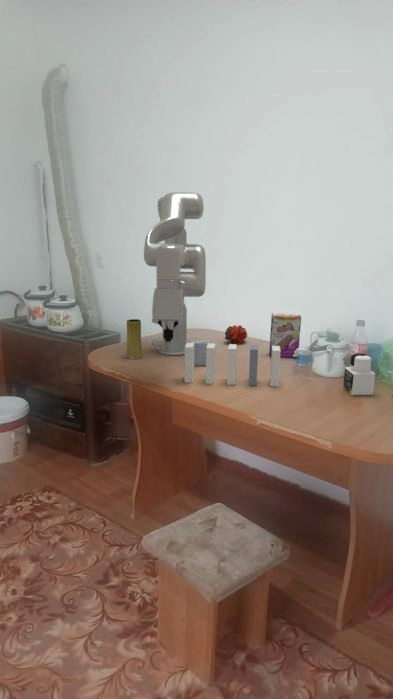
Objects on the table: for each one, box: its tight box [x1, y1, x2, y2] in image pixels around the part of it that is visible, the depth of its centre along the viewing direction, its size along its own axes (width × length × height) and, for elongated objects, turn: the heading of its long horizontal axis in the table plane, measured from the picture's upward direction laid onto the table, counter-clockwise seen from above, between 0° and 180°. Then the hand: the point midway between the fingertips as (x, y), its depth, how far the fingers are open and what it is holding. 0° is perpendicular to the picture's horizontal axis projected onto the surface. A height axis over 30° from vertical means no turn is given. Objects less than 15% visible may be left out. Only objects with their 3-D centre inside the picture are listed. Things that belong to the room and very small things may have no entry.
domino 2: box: [205, 342, 216, 385], centre depth 170 cm, size 2×6×12 cm, turn 174°
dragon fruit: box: [224, 324, 248, 344], centre depth 220 cm, size 8×8×12 cm
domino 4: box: [248, 344, 259, 387], centre depth 168 cm, size 2×6×12 cm, turn 173°
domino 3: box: [226, 343, 238, 386], centre depth 169 cm, size 2×6×12 cm, turn 174°
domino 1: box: [184, 342, 195, 384], centre depth 171 cm, size 2×6×12 cm, turn 174°
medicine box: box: [188, 339, 213, 367], centre depth 188 cm, size 8×4×9 cm, turn 107°
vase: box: [125, 318, 143, 359], centre depth 196 cm, size 6×6×14 cm
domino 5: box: [269, 346, 281, 388], centre depth 168 cm, size 2×6×12 cm, turn 174°
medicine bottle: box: [343, 352, 376, 396], centre depth 161 cm, size 7×7×12 cm
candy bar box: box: [268, 312, 302, 358], centre depth 199 cm, size 11×5×16 cm, turn 84°
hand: (168, 340), depth 169 cm, fingers closed
